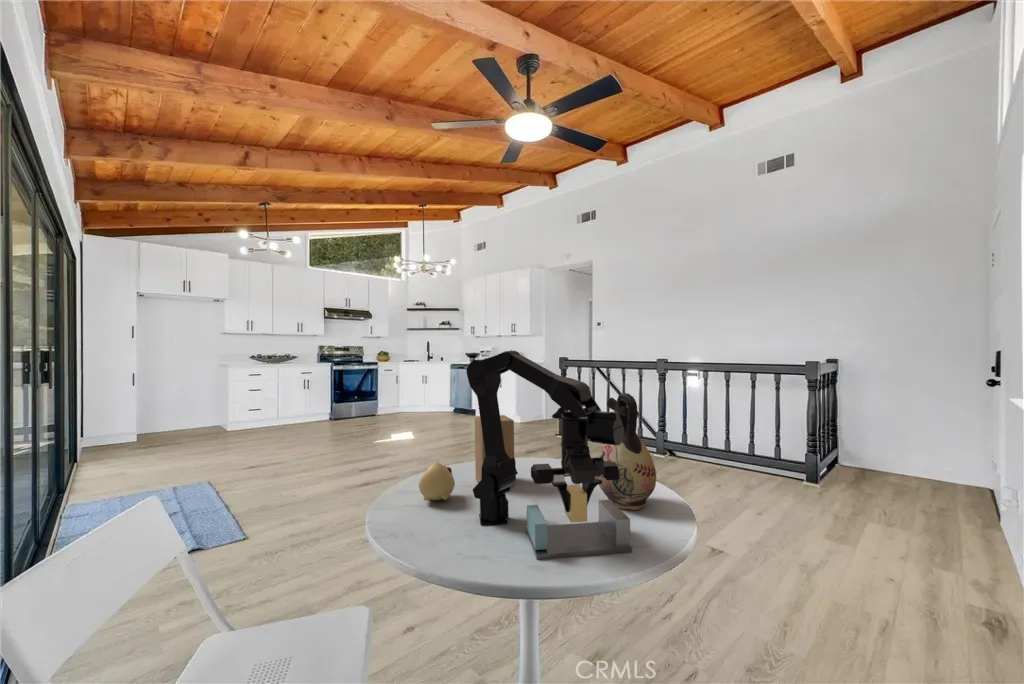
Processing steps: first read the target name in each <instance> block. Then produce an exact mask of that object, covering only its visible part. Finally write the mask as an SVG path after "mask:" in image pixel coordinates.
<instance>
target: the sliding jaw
mask: <svg viewBox="0 0 1024 684" xmlns="http://www.w3.org/2000/svg"><path fill="white" fill-rule="evenodd" d="M547 525H548V523H547V521H546V519H545V516H544V515H543V512H542V511H541V509H540V506H539V505H538V504H532V505H531V504H530V505H529V504H528V505H526V527H527V529H528V532H529V535H530V537H531V540H532V542H533V545H534V547H535V550H541V549H547Z"/></svg>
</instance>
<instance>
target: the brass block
mask: <svg viewBox="0 0 1024 684" xmlns="http://www.w3.org/2000/svg"><path fill="white" fill-rule="evenodd" d="M567 497H568V512H566V511H565V508H564V507H563V509H564V514H565V515H566V516H567V517H566V518H567V519H568V520H569V522H570V524H573V523H588V505H587V493H586V492H585V491H584V489H583V488H582V485H581V484H569V485H568V484H567Z"/></svg>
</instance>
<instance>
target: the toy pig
mask: <svg viewBox="0 0 1024 684" xmlns="http://www.w3.org/2000/svg"><path fill="white" fill-rule="evenodd" d="M452 472H453V470H452V468H451V467H449V466H446V465H445V464H443V463H440V462H438V461H436V462H434V463H432V464H431V465H430V466H429V467H428V468H427V469H426V470H425V472H424V473H423V475H422V476H421V477H420V480H419V482H418V489H419V492H420V493H421V495H422V496H423V500H424V501H425V502H427V501H440V500H444V501H445V500H446V501H447V500H448V499H449V498H450V497H451V494H452V493H453V491H454V489H455V486H456V485H455V484H456V481H455V477H454V476H453V473H452ZM449 496H450V497H449ZM448 497H449V498H448Z"/></svg>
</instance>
